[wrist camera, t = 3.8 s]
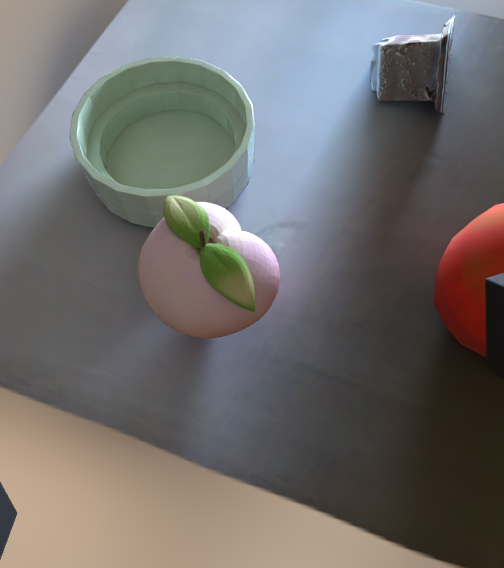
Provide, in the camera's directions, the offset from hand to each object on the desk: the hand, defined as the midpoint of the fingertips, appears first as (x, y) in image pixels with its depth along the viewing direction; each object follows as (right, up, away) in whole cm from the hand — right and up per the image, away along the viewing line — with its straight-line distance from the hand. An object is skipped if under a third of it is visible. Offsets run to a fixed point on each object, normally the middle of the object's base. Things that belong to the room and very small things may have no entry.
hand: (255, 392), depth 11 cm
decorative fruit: (-3, +1, +22) cm, 23 cm away
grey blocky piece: (+15, +24, +32) cm, 43 cm away
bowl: (-7, +13, +28) cm, 32 cm away
